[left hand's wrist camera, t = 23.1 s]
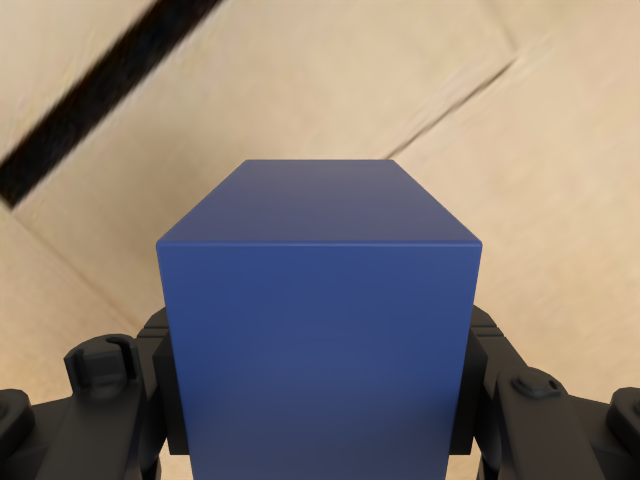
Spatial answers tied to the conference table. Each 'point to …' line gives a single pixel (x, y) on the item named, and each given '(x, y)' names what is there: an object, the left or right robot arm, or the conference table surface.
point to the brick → (319, 322)
